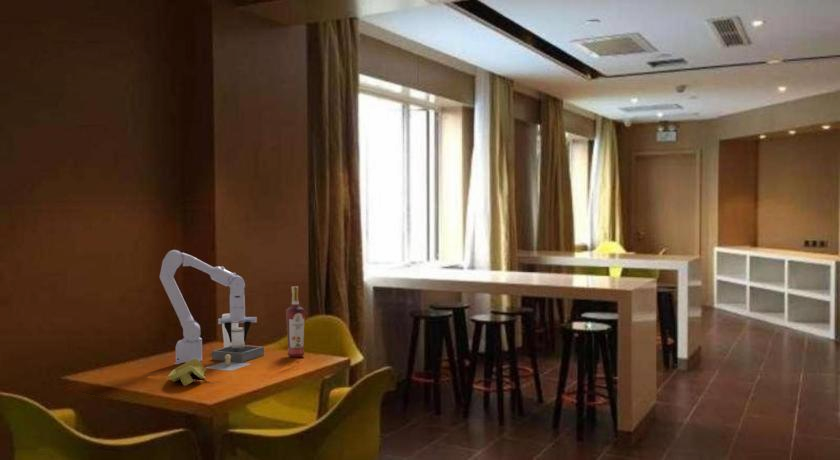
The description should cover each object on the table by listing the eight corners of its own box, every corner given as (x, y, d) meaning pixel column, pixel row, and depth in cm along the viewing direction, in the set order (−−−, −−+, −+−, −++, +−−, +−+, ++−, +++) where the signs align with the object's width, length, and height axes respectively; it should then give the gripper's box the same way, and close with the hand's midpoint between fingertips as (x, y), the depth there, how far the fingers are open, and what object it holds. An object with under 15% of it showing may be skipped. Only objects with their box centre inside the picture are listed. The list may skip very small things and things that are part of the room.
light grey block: (231, 348, 274) (231, 330, 274) (232, 345, 279) (231, 327, 278) (244, 347, 275) (243, 329, 275) (244, 344, 280) (244, 327, 279)
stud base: (204, 371, 259) (203, 356, 259) (225, 364, 270) (224, 350, 270) (231, 374, 254) (230, 358, 254) (251, 367, 266) (251, 352, 265)
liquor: (290, 359, 278) (289, 288, 277) (284, 356, 284) (282, 286, 283) (308, 357, 281) (307, 287, 280) (301, 354, 288) (300, 285, 287)
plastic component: (173, 369, 253) (199, 355, 255) (182, 387, 253) (208, 374, 255) (165, 378, 233) (194, 363, 235) (176, 398, 234) (204, 382, 236)
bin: (212, 362, 274) (211, 351, 274) (234, 355, 287) (234, 344, 287) (242, 365, 268) (241, 353, 268) (263, 358, 281) (263, 346, 281)
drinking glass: (242, 349, 300) (241, 313, 300) (231, 352, 294) (231, 315, 294) (229, 347, 303) (228, 312, 303) (218, 350, 297) (218, 315, 296)
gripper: (217, 309, 272) (218, 344, 272) (256, 307, 275) (257, 342, 275) (218, 306, 278) (219, 341, 279) (256, 305, 281) (257, 339, 282)
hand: (238, 341), depth 277 cm, fingers closed on light grey block, 5 cm apart
